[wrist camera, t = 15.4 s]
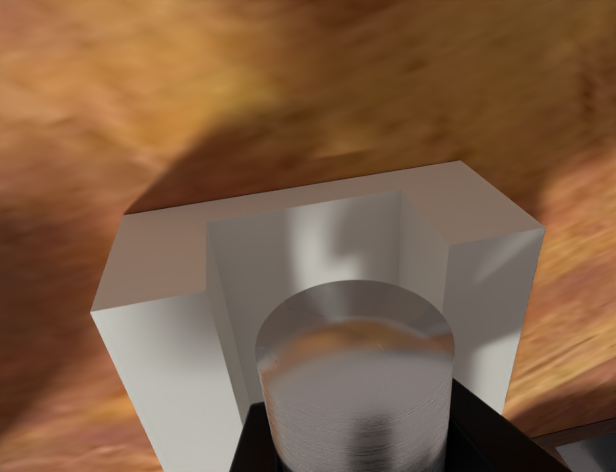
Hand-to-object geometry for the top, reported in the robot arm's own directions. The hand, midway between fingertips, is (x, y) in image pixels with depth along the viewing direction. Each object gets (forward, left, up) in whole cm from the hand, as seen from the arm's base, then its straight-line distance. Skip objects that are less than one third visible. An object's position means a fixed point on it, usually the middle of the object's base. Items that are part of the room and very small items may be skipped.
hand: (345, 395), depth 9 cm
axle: (-3, 0, +1) cm, 4 cm away
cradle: (-3, 0, -4) cm, 5 cm away
